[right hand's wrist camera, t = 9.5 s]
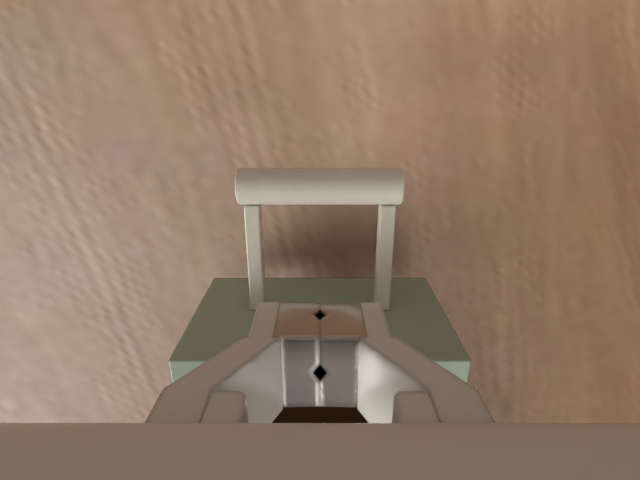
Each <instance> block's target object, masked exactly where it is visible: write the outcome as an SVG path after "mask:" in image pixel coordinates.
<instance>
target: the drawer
mask: <svg viewBox="0 0 640 480" xmlns="http://www.w3.org/2000/svg"><path fill="white" fill-rule="evenodd" d="M404 193H405V177H404V172H403V170H402V169H401V168H239V169H237V171H236V175H235V195H236V200H237V202H238V204H240V205H245V206H244V220H245V235H246V249H247V264H248V278H214V280H213V282H212V283H211V285H210V287H209V289H208V290H207V292H206V294H205V296H204V298H203V299H202V301H201V303H200V305H199V307H198V308H197V310H196V312H195V314H194V316H193V317H192V319H191V321H190V323H189V325H188V326H187V328H186V330H185V332H184V334H183V335H182V337H181V339H180V341H179V343H178V344H177V346H176V348H175V350H174V352H173V353H172V355H171V357H170V359H169V367H170V373H171V380H172V383H173V382H175V381H177V380H178V379H180V378H181V377H183V376H184V375H186V374H187V373H189V372H190V371H192V370H193V369H195V368H197V367H198V366H200V365H201V364H203V363H204V362H206V361H207V360H209V359H210V358H212V357H213V356H215V355H217V354H218V353H220V352H221V351H223V350H224V349H226V348H227V347H229V346H230V345H232V344H233V343H235V342H236V341H238V340H240V339H241V338H244V337H249V334H250V330H251V327H252V323H253V320H254V317H255V313H256V310H257V306H258V304H259V303H260V302H280V303H281V302H292V303H347V302H360V303H363V302H380V303H381V304H382V307H383V310H384V314H385V317H386V320H387V324H388V327H389V330H390V334H391V337H396V338H399V339H400V340H402V341H403V342H405V343H407V344H408V345H410V346H411V347H413V348H414V349H416V350H417V351H419V352H420V353H422V354H423V355H425V356H426V357H428V358H429V359H431V360H433V361H434V362H436V363H437V364H439V365H440V366H442V367H443V368H445V369H446V370H448V371H449V372H451V373H452V374H454V375H456V376H457V377H459V378H460V379H462V380H463V381H465V382H466V383H468V377H469V371H470V365H471V359H470V357H469V356H468V354H467V352H466V350H465V348H464V347H463V345H462V343H461V341H460V339H459V338H458V336H457V334H456V332H455V330H454V329H453V327H452V325H451V323H450V322H449V320H448V318H447V316H446V314H445V313H444V311H443V309H442V307H441V305H440V304H439V302H438V300H437V298H436V297H435V295H434V293H433V291H432V289H431V288H430V286H429V284H428V282H427V280H426V279H425V278H391V274H392V260H393V245H394V230H395V216H396V206H395V205H400V204H402V202H403V199H404ZM261 205H379V206H378V225H377V244H376V263H375V278H265V270H264V251H263V232H262V213H261ZM272 423H368V421H367V420H366V419H365V418H364V417H363V415H362V414H361V413H360V412H359V410H358V409H357V407H324V406H315V407H283V410H282V411H281V412H280V413H279V415H278V416H277V417H276V418H275V419H274V421H273V422H272Z"/></svg>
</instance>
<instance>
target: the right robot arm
mask: <svg viewBox="0 0 640 480" xmlns="http://www.w3.org/2000/svg"><path fill="white" fill-rule="evenodd" d="M315 406H324V407H357V409H358V410H359V412H360V413H361V414H362V415H363V417H364V418H365V419H366V420H367V421H368V423H272V422H273V421H274V419H275V418H276V417H277V416H278V415H279V413H280V412H281V411H282V410H283V407H315ZM0 480H640V423H495V422H494V420H493V418H492V416H491V414H490V412H489V411H488V409H487V407H486V405H485V403H484V401H483V399H482V397H481V395H480V393H479V391H478V390H477V389H475V388H474V387H472V386H471V385H469V384H468V383H466V382H465V381H463V380H462V379H460V378H459V377H457V376H456V375H454V374H452V373H451V372H449V371H448V370H446V369H445V368H443V367H442V366H440V365H439V364H437V363H436V362H434V361H433V360H431V359H429V358H428V357H426V356H425V355H423V354H422V353H420V352H419V351H417V350H416V349H414V348H413V347H411V346H410V345H408V344H407V343H405V342H403V341H402V340H400V339H399V338H396V337H391V334H390V330H389V327H388V324H387V320H386V317H385V314H384V310H383V307H382V304H381V303H380V302H363V303H360V302H347V303H292V302H281V303H280V302H260V303H259V304H258V306H257V310H256V313H255V317H254V320H253V323H252V327H251V330H250V334H249V337H244V338H241V339H240V340H238V341H236V342H235V343H233V344H232V345H230V346H229V347H227V348H226V349H224V350H223V351H221V352H220V353H218V354H217V355H215V356H213V357H212V358H210V359H209V360H207V361H206V362H204V363H203V364H201V365H200V366H198V367H197V368H195V369H193V370H192V371H190V372H189V373H187V374H186V375H184V376H183V377H181V378H180V379H178V380H177V381H175V382H173V383H172V384H170V385H169V386H167V387H166V388H164V389H163V390H162V392H161V394H160V396H159V398H158V399H157V401H156V403H155V405H154V407H153V409H152V411H151V413H150V414H149V416H148V418H147V420H146V422H145V423H0Z"/></svg>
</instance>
